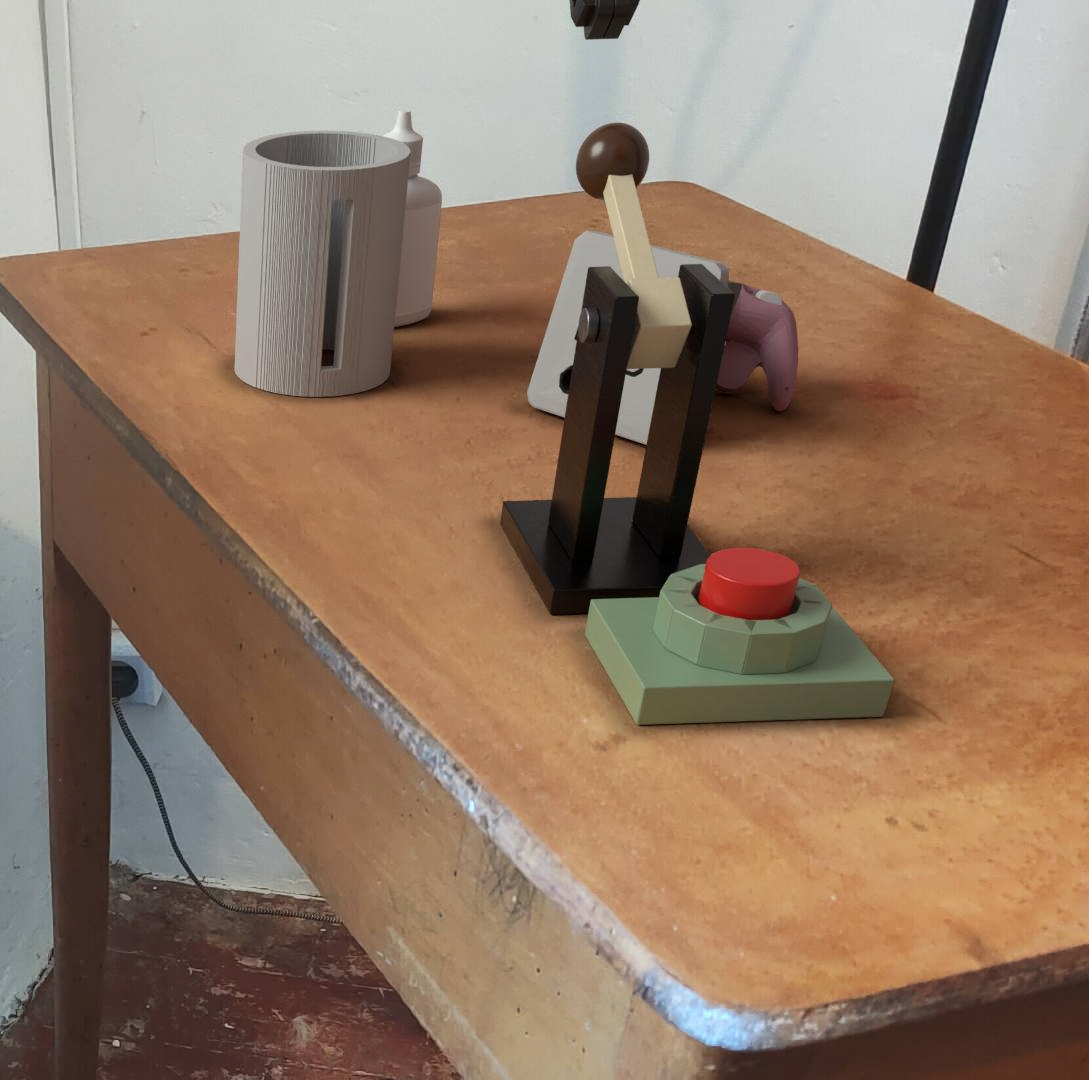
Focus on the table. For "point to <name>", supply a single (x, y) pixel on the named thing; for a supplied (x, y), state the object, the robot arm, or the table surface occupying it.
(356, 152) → the cup
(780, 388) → the video game controller
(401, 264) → the eye dropper bottle
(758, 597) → the button
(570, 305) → the electrical switch
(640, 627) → the button block
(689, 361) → the bracket
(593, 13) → the robot arm
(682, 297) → the lever
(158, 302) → the table surface
